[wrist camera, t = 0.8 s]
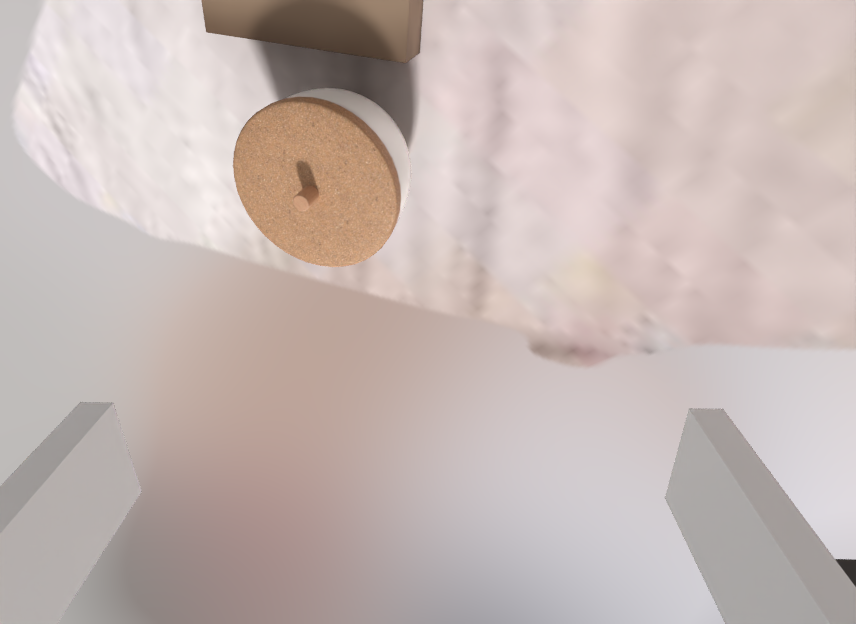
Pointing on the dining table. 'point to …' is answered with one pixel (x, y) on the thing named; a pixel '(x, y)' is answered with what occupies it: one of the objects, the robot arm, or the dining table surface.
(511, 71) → the dining table surface
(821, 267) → the dining table surface
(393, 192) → the lidded jar
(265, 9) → the plinth
